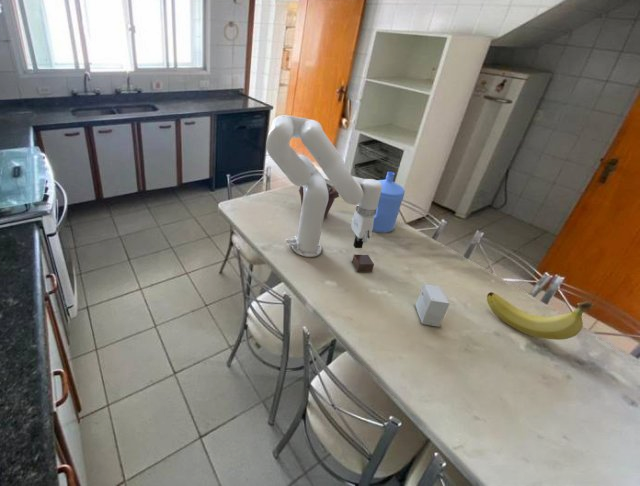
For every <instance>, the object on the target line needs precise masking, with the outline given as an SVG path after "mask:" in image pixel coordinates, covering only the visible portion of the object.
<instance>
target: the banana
mask: <svg viewBox="0 0 640 486" xmlns="http://www.w3.org/2000/svg"><path fill="white" fill-rule="evenodd" d="M486 301H487V305H488V307H489V308H490V310H491V311H492V313H494V314H495V316H496V317H497V318H498V319H500V320H501V321H502V322H504V323H506V325H508V326H510V327H512V328H514V329H515V330H517V331H519V332H521V333H524V334H526V335H528V336H532V337H534V338H539V339H546V340H555V341H557V340H558V341H560V340H561V341H562V340H567V339H571V338H574V337H576V336H578V335H579V333H581V331H582V329H583V326H584V323H583V313H584V312H586V311H590V310H591V308H593V307H594V304H593V303H592V302H590V301H587V300H586V301H584V302H577V303H576V305H577V308H576V309H575V310H574V311H572V312H568V313H562V314H558V315H553V316H544V315H543V316H541V315H535V314H532V313H528V312H526V311H524V310H522V309H520V308H518V307H516V306H515V305H513V304H511V303H510V302H509V301H507V300H506V299H504V298H503V297H502V296H500V295H499V294H497V293H495V292H488V293H487V295H486Z"/></svg>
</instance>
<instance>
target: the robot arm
mask: <svg viewBox="0 0 640 486" xmlns="http://www.w3.org/2000/svg"><path fill="white" fill-rule="evenodd" d="M323 129H324V128H323V126H322V124H321V123H320V122H319V121H318V120H316V119H310V118H306V117H300V116H295V115H289V114H279V115H278V116H275V118H273V119H272V122H271V124H270V129H269V132H268V135H267V138H266V143H265V147H266V150H267V151H266V152H267V153H268V156H269V157H270V158H271V160H272V161H273V162H274V163H275V164H276V165H277V167H278V168H279V170H281V172H282V173H283V174H284V175H285V176H286V178H287V179H288V180H289V181H290V182H291V184H293V185H294V186H297V187H300V186H303V193H304V194H303V203H302V208H301V209H300V214H299V220H298V221H299V222H298V229H297V235H295V236H294V237H292V238H285V244H288V246H289V247H291V248H292V251H294V252H295V254H297V255H300V256H302V257H306V258H314V257H318V256H319V255H321V253H322V249H323V248H322V246H321V243H320V239H321V235H322V229H323V226H324V225H323V224H324V220H325V219H324V214H325V210H326V207H327V204H328V199H329V194H328V188H327V185H326V183H327V181H326V179H325V177H324V176H323V174H322V173H321V172H320V171H319V170H318V168H317V167H316V166H315V165H314V163H313V162H312V161H311V159H309V158H308V157H307V156H306V155H304V154H298V153H297V152H296V150H294V148H292V146H291V145H290V142H291V140H292V139H293V138H294V139H299V140H300V141H301V142H302V145H303V146H304V147H305V149H306V150H307V151H308V153H309V154H310V155H311V157H313V159H314V160H315V162H316V163H317V164H318V165H319V167H320V168H321V170H322V171H323V173H324V175H325V176H326V177H327V179H328V180H329V182H330V183H331V185H332V186H334V188H335V189H336V191H337V192H338V193H339V197H341V199H342V201H344V202H345V203H346V204H348V205H356V207H355V210H354V213H353V216H352V219H351V223H350V227H351V230H352V231H353V233H354V239H353V240H354V241H353V248H354V249H363V246H364V243H368V239H371V236H372V233H373V231H372V229H373V223H374V216H375V215H376V210H377V206H378V202H379V198H380V194H381V190H382V184H381V183H380V182H379V181H377V179H373V178H362V177H359V176H358V177H357V176H354V175H352V174H351V172H350V171H349V169H348V167H347V166H346V163H345V161H344V158H343V157H342V155H341V154H340V152H339V150H338V149H337V148H336V146H335V145H334V144H333V143H332V141H331V140H330V138H329V136H328V135H327V134H326V133H325V131H324V130H323Z"/></svg>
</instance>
